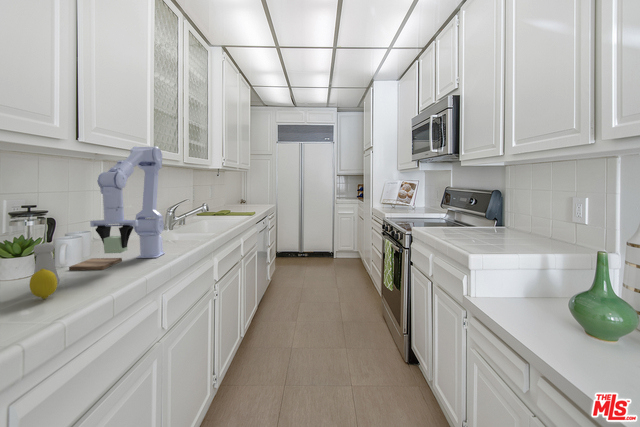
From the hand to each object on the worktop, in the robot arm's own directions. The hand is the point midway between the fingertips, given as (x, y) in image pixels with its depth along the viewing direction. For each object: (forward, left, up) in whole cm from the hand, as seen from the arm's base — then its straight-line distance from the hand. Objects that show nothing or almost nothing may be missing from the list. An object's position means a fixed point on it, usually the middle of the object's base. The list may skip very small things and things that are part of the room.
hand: (116, 247), depth 114 cm
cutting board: (-8, -11, -8) cm, 16 cm away
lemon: (+28, -4, -8) cm, 29 cm away
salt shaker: (+20, -9, -8) cm, 23 cm away
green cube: (0, 0, -1) cm, 1 cm away
